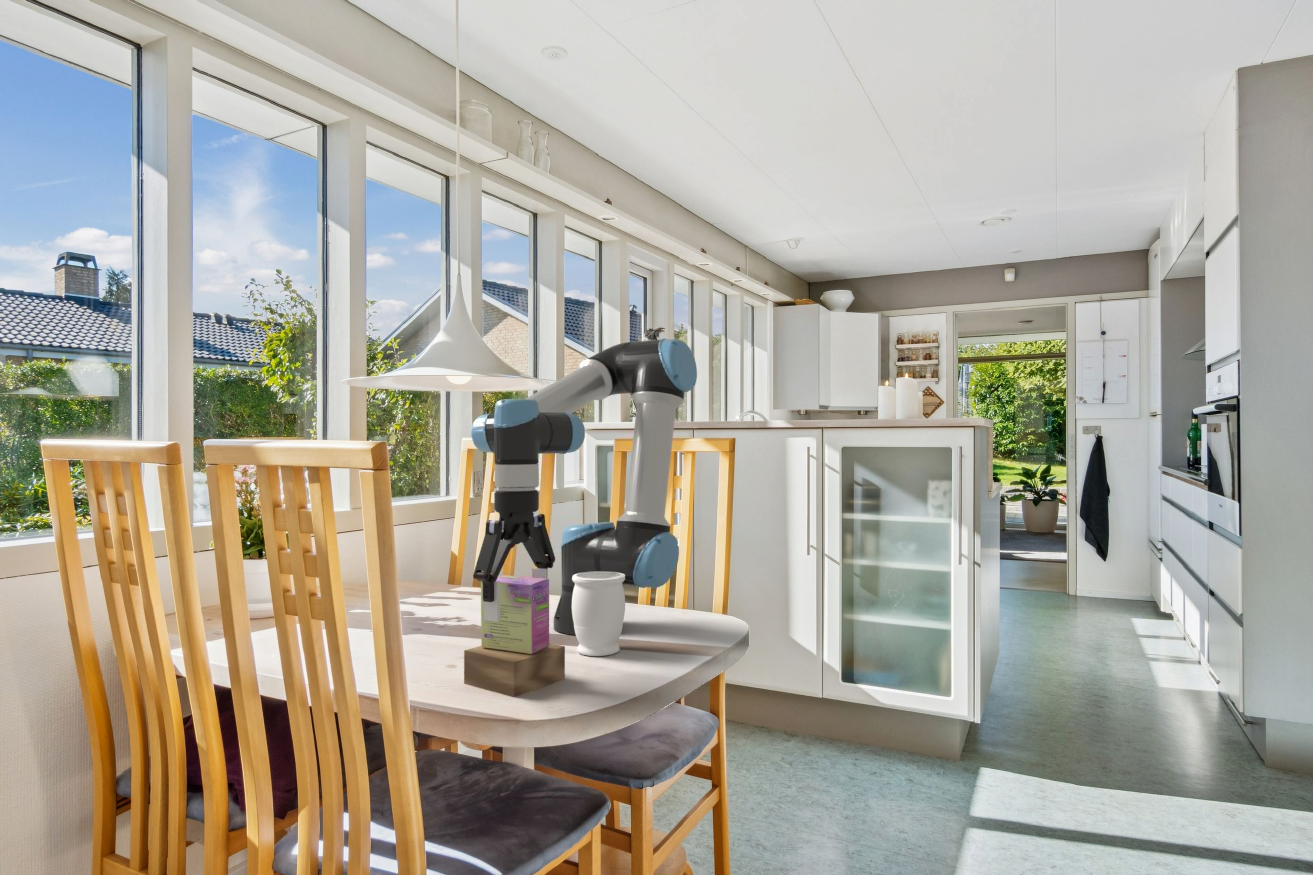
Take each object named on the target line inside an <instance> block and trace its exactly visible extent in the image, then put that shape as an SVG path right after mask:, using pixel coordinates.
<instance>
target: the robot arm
mask: <svg viewBox="0 0 1313 875" xmlns="http://www.w3.org/2000/svg"><path fill="white" fill-rule="evenodd" d="M696 362H697V361H696V359H695V356H694V354H693V352H692V350H691V348H690V346H688V344H687V343H686V342H685V341H683V340H681V339H678V338H661V339H653V340H642V341H641V340H640V341H629V342H623V343H619V344H615V345H613V346H610V347H608V348H606V349H604V350H602V351H599V352H597V353H596V354H594V355H592V356H589V357H588V358H587V359H584V360H583V361H581V362H580V363H579V364H578V366H577V368H576V370H574V371H573V372H570V373H569V374H567V375H566V376H563V377H562V378H560V379H558V380H557V381H555V382H553V383H551V384H549V385H547V386H545V387H544V388H542V389H540V390H539V391H537V392H535V393H533V394H531V395H529V396H527V397H526V398H505V399H500V400H499V399H498V401H496V403H495V405H494V406H495V407H494V413H493V412H491V413H487V414H482V415H479V416H478V417H477V418H476V419H475V420H474V421H473V422H472V426H471V430H470V434H471V435H470V436H471V439H472V442H473V445H474V446H475V447H476V449H478V450H479V451H480V452H484V453H490V454H493V455H494V487H495V488H497V490H495V491H494V493H493V494H494V498H493V499H494V505H493V506H494V511H495V512H496V513H498V514H499V518H498V520H493V519H488V520H487V521H486V523H485V534H484V537H483V540H482V544H481V548H480V550H479V551H480V552H479V554H478V557H477V562H476V565H475V567H474V571H473V574H472V576H473V577H472V578H473V579H475V580H476V581H478V582H481V581H482V583H483V601H484V621H493V622H499V621H500V581H496V580H497V578H498V575H500V574H501V571H502V569H503V566H504V564H505V562H506V560H507V558H508V555H509V554H510V552H511V550H512V548H514V547H515V546H516V545H519V544H521V543H522V544H523V546H524V549H525V550H526V552H527V554H528V556H529V557H530V559H531V561H532V562H533V564H534V566H535V567H533V568H531V577H532V578H543V579H548V569H553V567H554V563H555V561H556V556H555V553H554V549H553V547H552V543H551V541H550V536H549V533H548V530H547V526H546V515H545V514H544V513H536V512H537V511H539V508H540V507H539V506H540V502H539V499H540V497H539V496H540V494H539V493H540V492H539V491H538V490H537V489H536V488H538V487H539V486H540V477H539V476H540V474H539V473H540V472H539V471H540V469H539V466H540V465H539V463H540V462H539V459H540V456H539V454H544V455H545V454H548V455H549V454H551V455H552V454H559V455H565V454H568V453H569V454H570V453H575V452H576V451H578V450H579V449H581V447H582V446H583V443H584V442H585V437H586V428H585V425H584V422H583V421H582V419H581V418H580V417H579V416H577V415H576V414H574V413H575V412H576V411H578V410H580V409H582V408H583V407H585V406H586V405H589V403H591V402H593V401H602V400H604V399H606V398H608V397H611V396H614V395H621V394H630V396H631V397H630V398H631V399H632V400H633V401H634V403H635V405H636V411H635V412H636V413H635V420H634V421H635V422H634V427H633V428H634V430H633V436H632V445H631V446H632V448H631V453H630V454H631V455H630V464H629V474H628V484H627V491H626V500H625V510H624V512H623V514H622V515H621V516H620V517H619V518H617V519H616V525H615V522H613V521H604V522H595V523H585V524H578V525H569V526H567V527H565V528H564V529H563V530H562V535H561V545H560V548H561V552H560V553H561V556H560V557H561V594H560V598H559V601H558V604H557V607H556V609H555V613H554V617H553V630H555V631H556V632H558V633H562V634H566V635H572V636H573V635H574V636H576V634H575V629H574V622H573V616H572V595H573V590H574V586H575V583H574V582H573V581H572V576H573V575H574V574H578V573H583V572H594V571H606V572H617V573H622V574H624V575H625V580H624V581H623V582H622V585H623V586H632V587H637V588H640V589H645V588H646V589H647V588H650V589H651V588H653V589H655V588H656V589H657V588H660V587H662V586H664V585H665V584H667V583H668V581H670V579H671V578H672V577H673V575H674V573H675V570H676V569H677V566H678V562H679V558H680V547H679V545H678V544H679V542H678V539H677V537H676V535H674V534H673V533H671V524H670V523H669V522H668V521H667V519H666V517H665V514H666V507H667V506H666V504H667V497H668V496H667V495H668V487H669V478H670V468H671V458H672V456H671V455H672V447H673V440H674V431H675V430H674V429H675V419H676V418H675V417H676V410H677V409H678V408H679V407H680V406H682V405H683V404H684V399H685V393H689V392H690V391H692V390H693V389H694V387H695V385H696V384H697V378H698V370H697V369H698V368H697V363H696Z"/></svg>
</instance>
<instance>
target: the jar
mask: <svg viewBox="0 0 1313 875" xmlns="http://www.w3.org/2000/svg"><path fill="white" fill-rule="evenodd" d="M624 580H625V575H624V574H622V573H617V572H606V571H594V572H583V573H578V574H574V575H573V576H572V581H573V582H574V583H575V586H574V590H573V595H572V616H573V622H574V629H575V634H576V635H575V636H576V639H577V641H578V643H579V644H578V646H577V648H576V652H577V653H578V654H580V655H583V656H589V657H604V656H611V655H615V654H617V653H619V651H620V650H621V648H620V645H619V644H618V641H619V640H620V637H621V635H622V631H623V626H624V619H625V612H626V597H625V589H624V585H622V582H623V581H624Z"/></svg>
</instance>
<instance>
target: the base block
mask: <svg viewBox="0 0 1313 875" xmlns="http://www.w3.org/2000/svg"><path fill="white" fill-rule="evenodd" d="M463 654H464V655H463V656H464V657H463V658H464V659H463V664H464V665H463V670H464V671H463V684H465V685H467V686H471V687H474V688H479V689H482V690H486V691H489V692H493V693H496V694H500V695H505V696H508V697H511V698H516V697H519V696H521V695H525V694H527V693H530V692H533V691H536V690H539V689H541V688H544V687H547V686H550V685H552V684H555V683H559V682H561V681H564V680H565V678H566V673H565V672H566V669H565V668H566V667H565V666H566V661H565V660H566V659H565V657H566V647H565V646H564V645H560V644H555V643H550V642H549V646H548V647H546V648H544V649H542V650H540V651H538V652H536V653H534V654H526V653H520V652H513V651H507V650H499V649H492V648H483V647H482V645H479V646H476V647H471V648H468V649H464V652H463Z"/></svg>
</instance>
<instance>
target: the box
mask: <svg viewBox="0 0 1313 875" xmlns="http://www.w3.org/2000/svg"><path fill="white" fill-rule="evenodd" d="M496 581H500V621H499V622H493V621H484V601H483V583H482V581H480V617H481V618H480V622H481V623H480V625H481V626H480V629H481V631H480V632H481V634H480V635H481V636H480V637H481V638H480V639H481V646H482V647H483V648H492V649H499V650H507V651H513V652H520V653H526V654H534V653H536V652H538V651H540V650H542V649H544V648H546V647H548V646H549V643H550V579H549V578H547V579H543V578H532V576H521V575H520V576H519V575H509V574H499V575H498V578H497V580H496Z"/></svg>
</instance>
